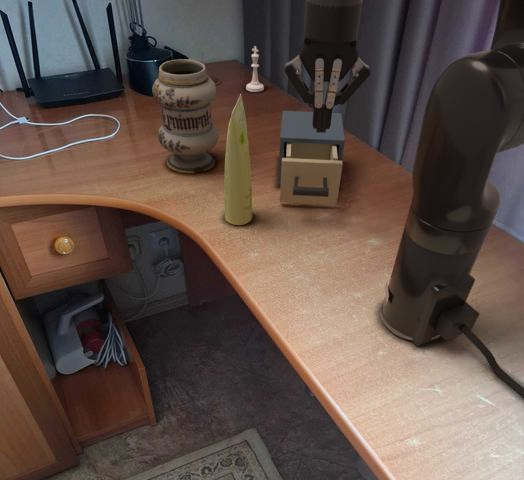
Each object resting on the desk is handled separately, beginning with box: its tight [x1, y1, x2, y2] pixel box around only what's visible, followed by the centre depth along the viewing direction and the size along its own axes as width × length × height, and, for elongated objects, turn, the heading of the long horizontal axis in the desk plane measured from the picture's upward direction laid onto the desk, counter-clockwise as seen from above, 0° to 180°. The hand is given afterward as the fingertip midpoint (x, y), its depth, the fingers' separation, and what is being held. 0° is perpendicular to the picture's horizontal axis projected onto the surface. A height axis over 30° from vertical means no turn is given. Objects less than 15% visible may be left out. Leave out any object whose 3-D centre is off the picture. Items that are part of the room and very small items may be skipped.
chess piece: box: [245, 45, 265, 93], centre depth 124 cm, size 5×5×10 cm
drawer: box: [279, 142, 343, 206], centre depth 85 cm, size 17×10×8 cm, turn 176°
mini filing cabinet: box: [277, 110, 346, 188], centre depth 92 cm, size 13×12×10 cm
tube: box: [223, 93, 253, 226], centre depth 76 cm, size 6×5×20 cm
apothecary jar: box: [151, 58, 220, 175], centre depth 91 cm, size 12×12×18 cm
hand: (320, 130), depth 75 cm, fingers closed
